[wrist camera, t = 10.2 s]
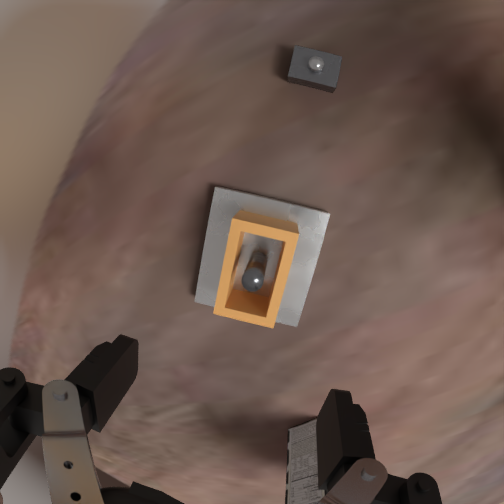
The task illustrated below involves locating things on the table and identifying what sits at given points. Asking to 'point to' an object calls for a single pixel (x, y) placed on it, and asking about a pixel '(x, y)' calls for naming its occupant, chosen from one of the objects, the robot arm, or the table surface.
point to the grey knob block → (314, 69)
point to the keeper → (261, 250)
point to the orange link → (228, 298)
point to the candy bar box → (302, 465)
